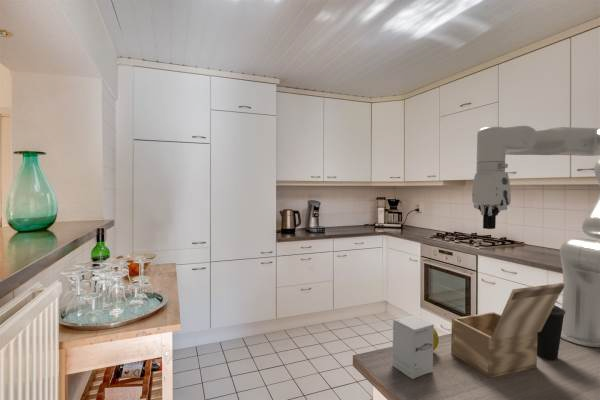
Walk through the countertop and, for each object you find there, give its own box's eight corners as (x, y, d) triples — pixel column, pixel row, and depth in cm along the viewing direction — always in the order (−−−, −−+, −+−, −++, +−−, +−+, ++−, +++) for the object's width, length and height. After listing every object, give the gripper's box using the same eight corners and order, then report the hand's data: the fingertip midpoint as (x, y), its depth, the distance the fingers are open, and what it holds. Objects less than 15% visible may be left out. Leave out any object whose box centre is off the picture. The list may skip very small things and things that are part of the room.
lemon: (440, 357, 90) (440, 329, 90) (419, 355, 91) (419, 327, 91) (436, 348, 96) (436, 321, 95) (416, 346, 97) (416, 320, 96)
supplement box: (412, 380, 80) (413, 329, 79) (391, 365, 86) (392, 318, 86) (433, 372, 83) (434, 324, 83) (411, 359, 90) (412, 314, 89)
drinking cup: (527, 356, 91) (529, 286, 91) (532, 346, 97) (534, 280, 96) (562, 366, 86) (565, 292, 85) (565, 355, 92) (567, 285, 91)
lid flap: (562, 282, 80) (565, 284, 79) (538, 329, 86) (541, 331, 85) (512, 289, 75) (515, 291, 74) (490, 338, 80) (493, 341, 80)
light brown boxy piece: (493, 344, 98) (494, 311, 98) (536, 366, 86) (537, 329, 85) (451, 352, 93) (451, 318, 93) (490, 377, 81) (491, 338, 80)
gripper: (523, 167, 93) (521, 231, 93) (479, 170, 107) (478, 225, 107) (503, 166, 90) (502, 232, 91) (461, 169, 104) (460, 226, 105)
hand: (489, 228), depth 99 cm, fingers closed
